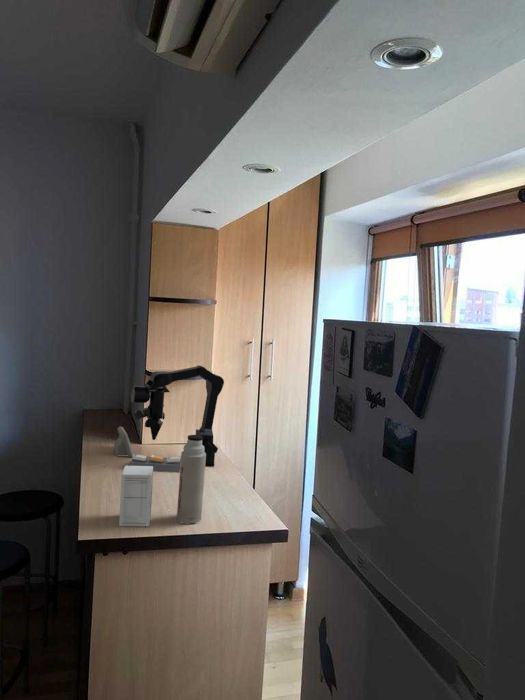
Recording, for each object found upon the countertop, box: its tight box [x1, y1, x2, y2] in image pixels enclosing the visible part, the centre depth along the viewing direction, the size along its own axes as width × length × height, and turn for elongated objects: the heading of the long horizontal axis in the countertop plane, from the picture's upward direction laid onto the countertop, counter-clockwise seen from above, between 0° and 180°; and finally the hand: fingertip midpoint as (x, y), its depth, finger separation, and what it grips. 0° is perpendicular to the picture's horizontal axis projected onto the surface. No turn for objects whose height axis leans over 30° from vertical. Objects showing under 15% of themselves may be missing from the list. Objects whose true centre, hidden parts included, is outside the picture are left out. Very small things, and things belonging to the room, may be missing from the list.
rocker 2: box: [166, 455, 181, 462], centre depth 229 cm, size 5×3×1 cm, turn 95°
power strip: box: [130, 455, 181, 474], centre depth 231 cm, size 20×10×3 cm, turn 95°
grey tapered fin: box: [113, 426, 135, 458], centre depth 247 cm, size 16×9×11 cm, turn 12°
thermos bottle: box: [176, 434, 206, 524], centre depth 180 cm, size 8×8×28 cm
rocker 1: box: [131, 453, 146, 461], centre depth 228 cm, size 5×3×1 cm, turn 95°
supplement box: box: [118, 465, 154, 528], centre depth 176 cm, size 10×9×17 cm
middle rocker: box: [149, 454, 164, 462], centre depth 229 cm, size 5×3×1 cm, turn 95°
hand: (153, 439), depth 228 cm, fingers closed
